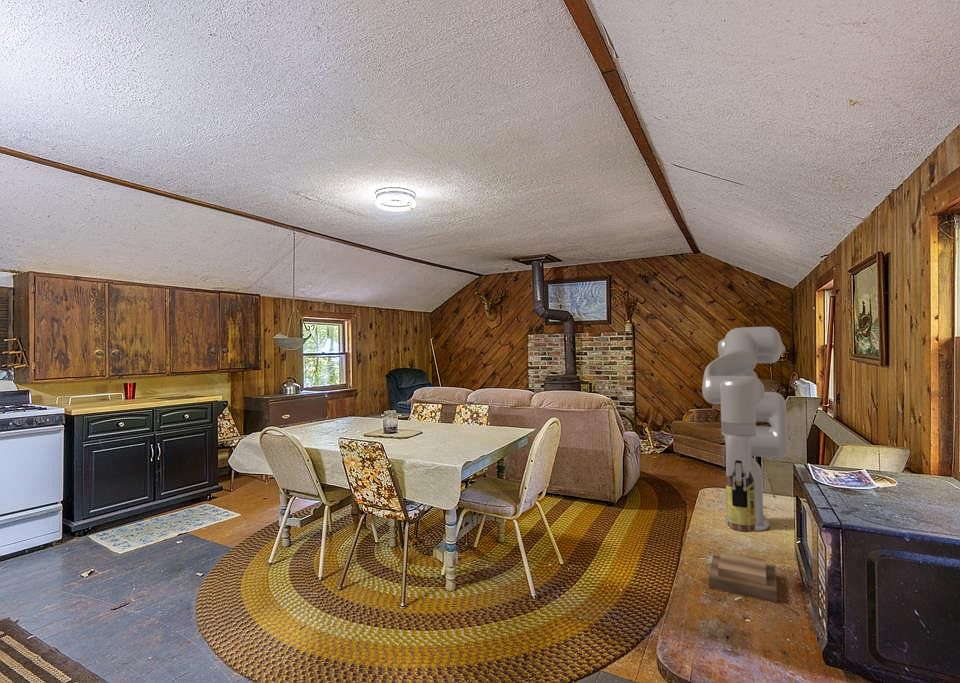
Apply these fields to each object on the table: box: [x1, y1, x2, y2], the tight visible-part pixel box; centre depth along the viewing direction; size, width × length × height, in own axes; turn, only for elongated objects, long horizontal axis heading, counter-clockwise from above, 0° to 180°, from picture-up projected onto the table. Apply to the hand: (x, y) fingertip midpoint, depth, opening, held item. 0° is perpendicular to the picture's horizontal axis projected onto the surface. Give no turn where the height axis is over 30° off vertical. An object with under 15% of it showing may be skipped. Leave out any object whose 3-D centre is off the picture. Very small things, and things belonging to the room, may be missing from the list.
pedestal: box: [708, 551, 778, 603], centre depth 119 cm, size 14×14×4 cm
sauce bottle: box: [725, 472, 756, 533], centre depth 118 cm, size 6×6×20 cm
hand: (740, 501), depth 119 cm, fingers closed on sauce bottle, 6 cm apart
